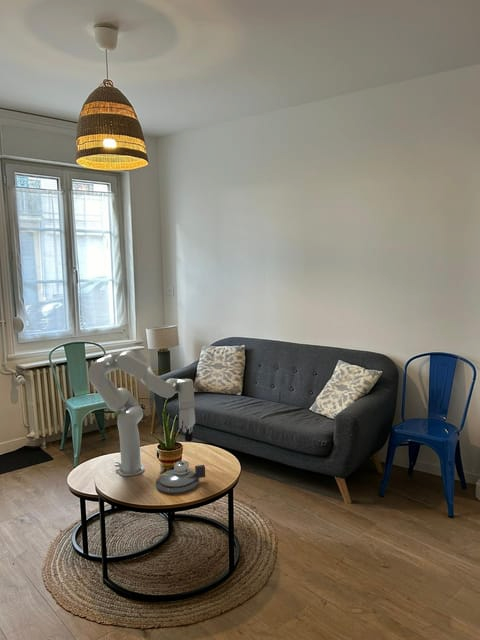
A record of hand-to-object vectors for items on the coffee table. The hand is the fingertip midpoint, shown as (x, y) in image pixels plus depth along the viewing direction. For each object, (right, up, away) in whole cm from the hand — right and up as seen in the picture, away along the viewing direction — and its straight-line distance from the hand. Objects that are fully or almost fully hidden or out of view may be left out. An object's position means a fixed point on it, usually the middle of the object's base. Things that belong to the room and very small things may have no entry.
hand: (188, 440), depth 234 cm
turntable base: (-4, -17, -12) cm, 21 cm away
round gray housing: (-2, -15, -12) cm, 20 cm away
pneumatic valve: (-10, -16, +6) cm, 20 cm away
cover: (-3, -13, -7) cm, 15 cm away
